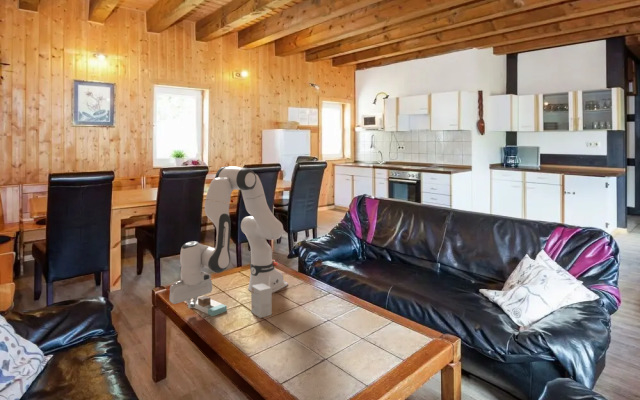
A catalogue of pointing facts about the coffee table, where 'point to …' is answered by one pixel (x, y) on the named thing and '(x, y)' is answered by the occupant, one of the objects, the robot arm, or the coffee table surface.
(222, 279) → the coffee table surface
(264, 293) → the small box
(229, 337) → the coffee table surface
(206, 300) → the block
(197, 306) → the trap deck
